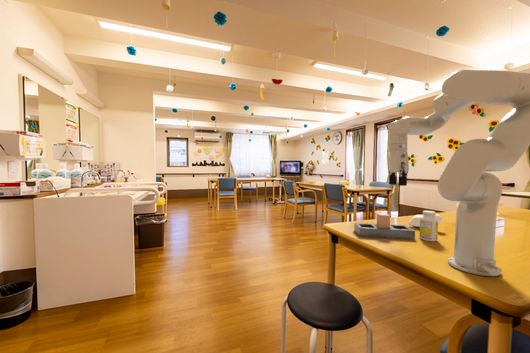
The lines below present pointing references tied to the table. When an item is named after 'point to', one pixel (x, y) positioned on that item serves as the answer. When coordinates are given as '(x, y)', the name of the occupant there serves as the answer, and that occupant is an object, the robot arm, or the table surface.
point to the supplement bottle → (429, 226)
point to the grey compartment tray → (384, 231)
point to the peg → (383, 220)
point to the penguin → (416, 220)
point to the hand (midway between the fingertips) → (397, 185)
